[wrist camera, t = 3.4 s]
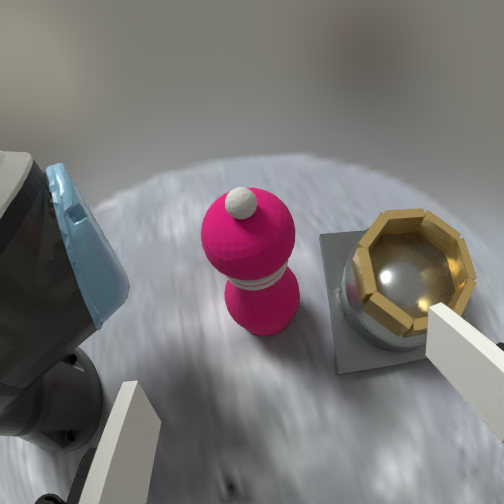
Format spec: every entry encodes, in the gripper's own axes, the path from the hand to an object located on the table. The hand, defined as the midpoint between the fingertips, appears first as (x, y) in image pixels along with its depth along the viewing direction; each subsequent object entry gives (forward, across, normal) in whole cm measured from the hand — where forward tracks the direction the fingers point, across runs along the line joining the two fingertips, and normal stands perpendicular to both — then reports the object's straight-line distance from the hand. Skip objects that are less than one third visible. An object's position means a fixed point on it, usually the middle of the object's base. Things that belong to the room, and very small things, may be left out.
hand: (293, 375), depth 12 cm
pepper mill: (+21, 0, -7) cm, 22 cm away
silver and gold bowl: (+19, +14, -9) cm, 25 cm away
